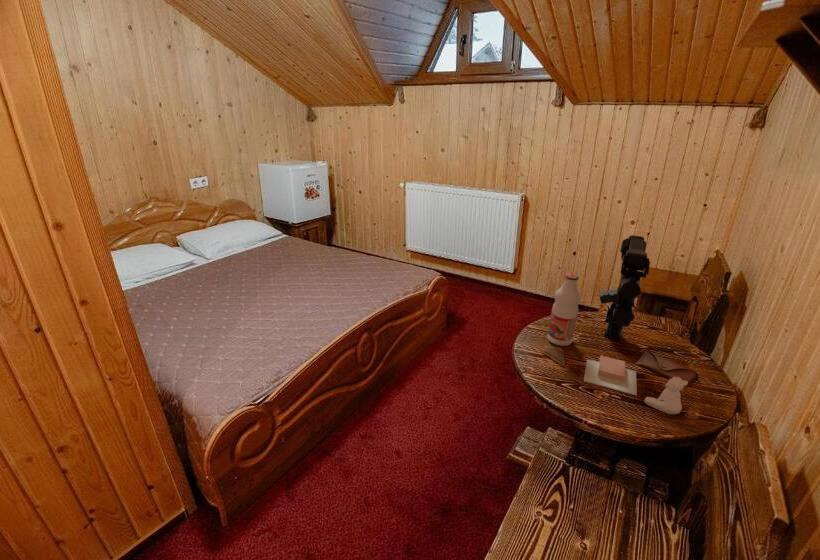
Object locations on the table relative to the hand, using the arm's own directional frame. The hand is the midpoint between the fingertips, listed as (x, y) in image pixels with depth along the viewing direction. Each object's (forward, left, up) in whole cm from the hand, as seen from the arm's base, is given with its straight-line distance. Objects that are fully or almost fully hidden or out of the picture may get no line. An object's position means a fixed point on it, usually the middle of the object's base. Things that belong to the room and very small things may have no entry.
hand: (618, 326), depth 147 cm
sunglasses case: (+3, +17, -13) cm, 22 cm away
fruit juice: (-1, -19, -12) cm, 23 cm away
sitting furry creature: (+25, +16, -12) cm, 32 cm away
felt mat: (+16, 0, -12) cm, 20 cm away
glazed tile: (+8, 0, -10) cm, 13 cm away
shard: (+11, -18, -13) cm, 25 cm away
